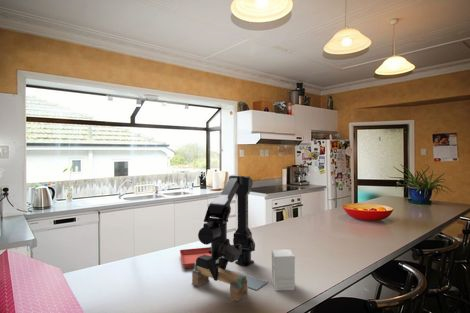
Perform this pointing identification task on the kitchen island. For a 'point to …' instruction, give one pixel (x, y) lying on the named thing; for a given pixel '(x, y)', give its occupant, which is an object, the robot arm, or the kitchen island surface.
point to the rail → (224, 276)
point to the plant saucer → (192, 256)
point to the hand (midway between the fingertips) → (218, 278)
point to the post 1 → (198, 278)
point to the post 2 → (237, 291)
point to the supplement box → (283, 270)
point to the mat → (252, 281)
